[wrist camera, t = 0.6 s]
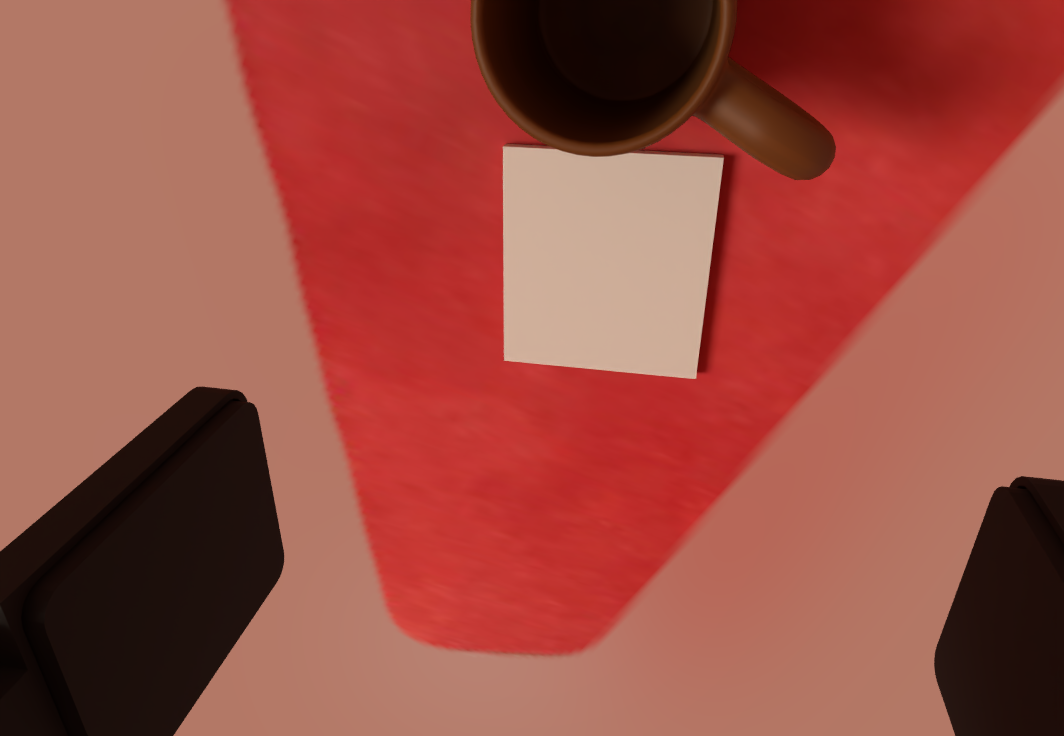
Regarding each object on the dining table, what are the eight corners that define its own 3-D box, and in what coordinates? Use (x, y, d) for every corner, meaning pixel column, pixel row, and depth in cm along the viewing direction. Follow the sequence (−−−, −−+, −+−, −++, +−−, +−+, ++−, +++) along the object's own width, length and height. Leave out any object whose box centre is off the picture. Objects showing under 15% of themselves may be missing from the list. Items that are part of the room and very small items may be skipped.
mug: (868, 35, 28) (941, 60, 20) (740, 206, 32) (756, 287, 23) (593, -154, 27) (549, -209, 19) (493, 46, 31) (420, 73, 22)
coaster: (506, 143, 32) (502, 146, 32) (723, 154, 31) (723, 157, 30) (506, 354, 37) (504, 360, 36) (695, 372, 35) (695, 378, 35)
